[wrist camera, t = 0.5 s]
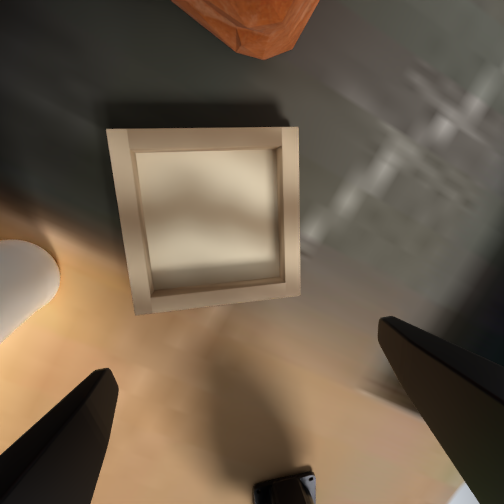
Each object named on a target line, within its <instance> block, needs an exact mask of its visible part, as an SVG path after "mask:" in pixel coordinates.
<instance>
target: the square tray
mask: <svg viewBox="0 0 504 504" xmlns="http://www.w3.org/2000/svg"><path fill="white" fill-rule="evenodd" d="M106 132H107V139H108V145H109V151H110V158H111V164H112V171H113V177H114V183H115V190H116V196H117V203H118V209H119V215H120V222H121V228H122V235H123V241H124V247H125V254H126V260H127V267H128V273H129V279H130V286H131V292H132V299H133V305H134V311H135V315H144V314H152V313H160V312H169V311H177V310H185V309H193V308H202V307H210V306H218V305H227V304H235V303H243V302H252V301H260V300H268V299H276V298H285V297H293V296H301V293H300V210H299V128H298V127H243V128H157V129H106Z"/></svg>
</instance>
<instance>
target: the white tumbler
mask: <svg viewBox="0 0 504 504" xmlns="http://www.w3.org/2000/svg"><path fill="white" fill-rule="evenodd" d="M59 285H60V271H59V268H58V265H57V263H56V262H55V260H54V259H53V257H52V256H51V255H50V254H49V253H48V252H47V251H46V250H44V249H43V248H41V247H40V246H38V245H36V244H33V243H31V242H27V241H23V240H14V239H10V240H1V241H0V344H1V343H2V342H3V341H5V340H6V339H7V338H8V337H9V336H10V335H11V334H12V333H13V332H14V331H15V330H17V329H18V328H19V327H20V326H21V325H22V324H23V323H24V322H25V321H26V320H28V319H29V318H30V317H31V316H32V315H33V314H34V313H36V312H37V311H38V310H40V309H41V308H42V307H44V306H45V305H46V304H48V303H49V302H50V301H51V300H52V299H53V298H54V296H55V295H56V293H57V291H58V289H59Z"/></svg>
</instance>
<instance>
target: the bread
mask: <svg viewBox="0 0 504 504" xmlns="http://www.w3.org/2000/svg"><path fill="white" fill-rule="evenodd" d="M171 1H172V2H173V3H174V4H176V5H177V6H178V7H179V8H181V9H182V10H183V11H184V12H186V13H187V14H188V15H189V16H191V17H192V18H193V19H194V20H196V21H197V22H198V23H199V24H201V25H202V26H203V27H204V28H206V29H207V30H208V31H210V32H211V33H212V34H213V35H215V36H216V37H217V38H218V39H220V40H221V41H222V42H223V43H225V44H226V45H227V46H229V47H230V48H231V49H232V50H234V51H235V52H236V53H240V54H243V55H247V56H251V57H254V58H258V59H262V60H266V59H268V58H271V57H273V56H276V55H278V54H281V53H284V52H286V51H289V50H291V49H293V47H294V45H295V43H296V41H297V40H298V38H299V36H300V34H301V32H302V31H303V29H304V27H305V25H306V24H307V22H308V20H309V18H310V16H311V15H312V13H313V11H314V9H315V7H316V6H317V4H318V2H319V0H171Z"/></svg>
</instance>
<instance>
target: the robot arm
mask: <svg viewBox="0 0 504 504" xmlns="http://www.w3.org/2000/svg"><path fill="white" fill-rule="evenodd" d="M378 342H379V344H380V346H381V348H382V350H383V352H384V354H385V356H386V357H387V359H388V361H389V363H390V365H391V367H392V369H393V371H394V373H395V374H396V376H397V378H398V380H399V382H400V384H401V385H402V387H403V389H404V390H405V392H406V393H407V395H408V396H409V398H410V399H411V401H412V402H413V404H414V405H415V407H416V408H417V410H418V411H419V413H420V414H421V416H422V417H423V419H424V420H425V422H426V423H427V425H428V426H429V428H430V430H431V431H432V433H433V434H434V436H435V437H436V439H437V440H438V442H439V443H440V445H441V446H442V448H443V449H444V451H445V452H446V454H447V455H448V457H449V458H450V460H451V461H452V463H453V464H454V466H455V467H456V469H457V470H458V472H459V473H460V475H461V476H462V478H463V479H464V481H465V482H466V484H467V485H468V487H469V488H470V490H471V491H472V493H473V494H474V495H475V497H476V498H477V500H478V502H479V503H480V504H504V367H503V366H501V365H499V364H496V363H494V362H492V361H490V360H488V359H485V358H483V357H481V356H479V355H477V354H474V353H472V352H470V351H468V350H466V349H464V348H461V347H459V346H457V345H455V344H453V343H450V342H448V341H446V340H444V339H442V338H439V337H437V336H435V335H433V334H431V333H429V332H426V331H424V330H422V329H420V328H418V327H415V326H413V325H411V324H409V323H407V322H405V321H402V320H400V319H398V318H396V317H393V316H388V317H382V318H380V319H379V324H378ZM118 392H119V389H118V384H117V382H116V380H115V378H114V376H113V374H112V371H111V370H110V369H109V368H103V369H97V370H95V371H93V372H92V373H91V374H90V375H89V376H88V377H87V378H86V379H84V380H83V381H82V382H81V383H80V384H79V385H78V386H77V387H75V388H74V389H73V390H72V391H71V392H70V393H69V394H68V395H67V396H65V397H64V398H63V399H62V400H61V401H60V402H59V403H58V404H57V405H55V406H54V407H53V408H52V409H51V410H50V411H49V412H48V413H47V414H45V415H44V416H43V417H42V418H41V419H40V420H39V421H38V422H37V423H35V424H34V425H33V426H32V427H31V428H30V429H29V430H28V431H27V432H25V433H24V434H23V435H22V436H21V437H20V438H19V439H18V440H17V441H15V442H14V443H13V444H12V445H11V446H10V447H9V448H8V449H7V450H5V451H4V452H3V453H2V454H1V455H0V504H90V503H91V500H92V497H93V493H94V490H95V487H96V483H97V480H98V477H99V473H100V470H101V467H102V463H103V460H104V457H105V453H106V450H107V446H108V442H109V438H110V433H111V428H112V423H113V418H114V413H115V408H116V403H117V398H118ZM253 493H254V504H316V478H315V475H314V473H313V472H312V471H309V472H305V473H301V474H297V475H292V476H288V477H284V478H280V479H275V480H271V481H267V482H263V483H259V484H256V485H255V486H254V487H253Z"/></svg>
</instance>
